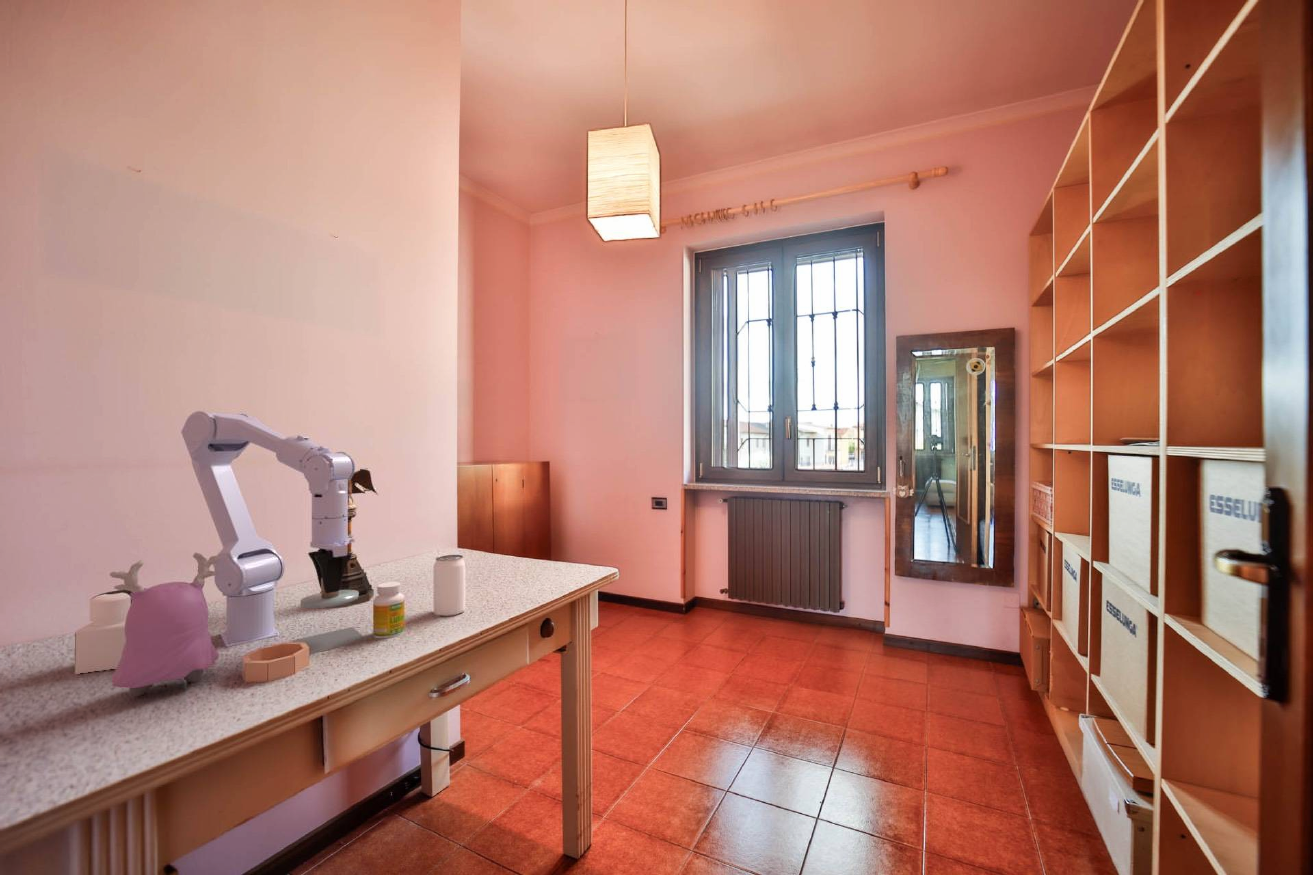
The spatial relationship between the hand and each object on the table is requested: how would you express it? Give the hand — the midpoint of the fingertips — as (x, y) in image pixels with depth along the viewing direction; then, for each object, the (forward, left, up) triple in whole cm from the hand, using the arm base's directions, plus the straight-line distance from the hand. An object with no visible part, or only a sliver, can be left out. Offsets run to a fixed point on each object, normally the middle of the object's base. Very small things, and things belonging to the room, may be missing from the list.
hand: (329, 590), depth 97 cm
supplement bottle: (+4, +9, -10) cm, 14 cm away
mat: (0, 0, -10) cm, 10 cm away
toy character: (+3, -22, -10) cm, 25 cm away
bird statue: (-31, +10, -10) cm, 34 cm away
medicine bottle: (-16, -28, -10) cm, 34 cm away
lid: (0, 0, -2) cm, 2 cm away
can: (-1, +23, -10) cm, 25 cm away
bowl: (+9, -9, -10) cm, 16 cm away
